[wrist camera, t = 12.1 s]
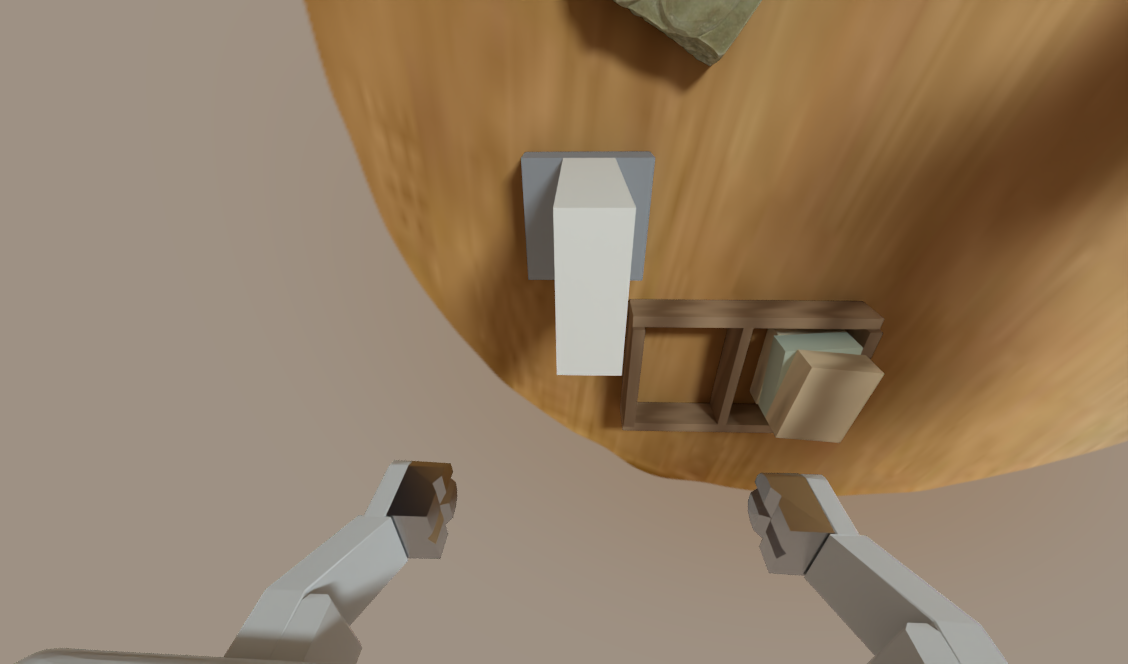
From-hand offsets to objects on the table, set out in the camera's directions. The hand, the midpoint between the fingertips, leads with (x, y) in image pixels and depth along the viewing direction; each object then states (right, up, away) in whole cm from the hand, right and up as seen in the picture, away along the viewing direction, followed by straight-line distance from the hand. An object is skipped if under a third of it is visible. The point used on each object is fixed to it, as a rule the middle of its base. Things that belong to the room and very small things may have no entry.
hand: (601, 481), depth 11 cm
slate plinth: (+1, +13, +21) cm, 25 cm away
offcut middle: (+20, +1, +26) cm, 33 cm away
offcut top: (+20, -1, +24) cm, 32 cm away
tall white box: (+1, +12, +19) cm, 22 cm away
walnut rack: (+15, +1, +28) cm, 32 cm away
